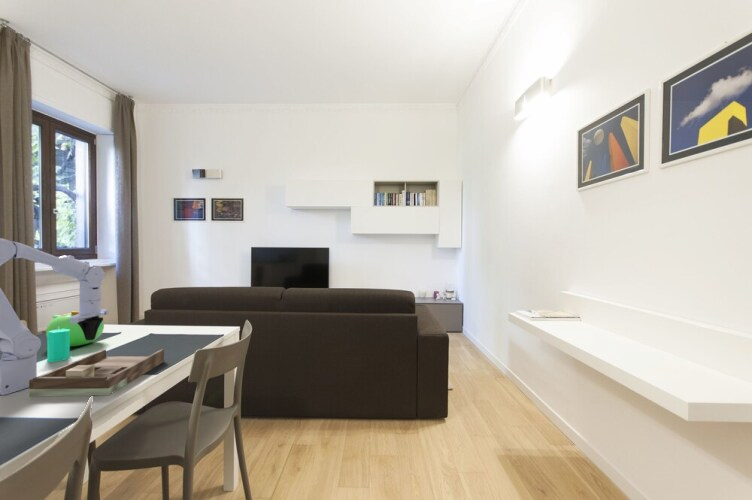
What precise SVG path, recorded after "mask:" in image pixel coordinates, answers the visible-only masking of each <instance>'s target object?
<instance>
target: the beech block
mask: <svg viewBox="0 0 752 500" xmlns="http://www.w3.org/2000/svg"><path fill="white" fill-rule="evenodd" d="M66 377H94V365H78V366H75V367H73V368H71V369H69V370H66Z"/></svg>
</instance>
